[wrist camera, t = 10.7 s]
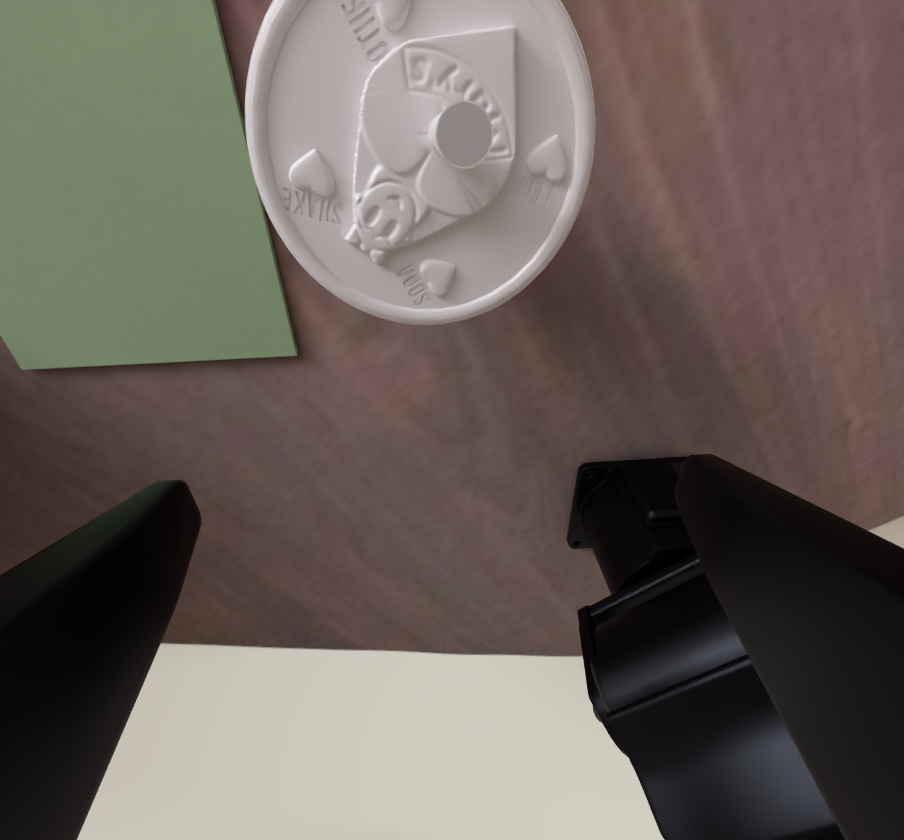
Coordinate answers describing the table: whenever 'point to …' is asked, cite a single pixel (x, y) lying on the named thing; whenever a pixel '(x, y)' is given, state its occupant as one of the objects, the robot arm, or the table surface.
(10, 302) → the green cloth
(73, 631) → the robot arm
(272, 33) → the smoothie
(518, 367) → the table surface
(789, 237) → the table surface
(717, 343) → the table surface
